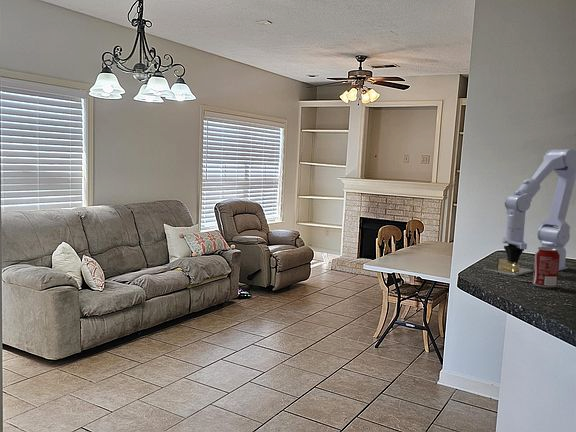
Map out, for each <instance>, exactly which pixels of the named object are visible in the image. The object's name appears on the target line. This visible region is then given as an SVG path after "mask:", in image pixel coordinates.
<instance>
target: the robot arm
mask: <svg viewBox="0 0 576 432" xmlns="http://www.w3.org/2000/svg"><path fill="white" fill-rule="evenodd" d="M542 158H543V161H542V163H541V164H540V165H539V167H538V169H537V170H536V171H535V173H534V174H533V175H532V177H531V178H527V179H524V180H523V181H522V184H521V185H520V186H519V187H518V189H517V190H515V192H514V194H510V195H509V196H508V197H507V198H506V200H505V201H504V207H505V209H506V214H507V218H506V219H507V220H506V235H505V237H502V244H507V245H504V246H503V248H504V251H505V253H506V256H507V260H508V261H511V262H513V263H514V262H516V263H518V262H519V260H520V257H521V255H522V253H523V252H524V250H527V248H528V244H527V243H526V242H525V241H524V239H525V238H524V236H525V226H526V225H525V224H526V223H525V222H526V211H528V210H529V209H530V207H531V203H532V199H533V198H534V197H535V196H536V194H537V193H538V192H539V191H540V190H541V183H543V181H545V179H546V178H547V177H548V176H549V175H550V174H551V173H552V172H554V173H556V174H557V176H558V179H557V183H556V188H555V191H554V194H553V199H552V203H551V207H550V211H549V214H548V217H547V218H546V219H544V220H543V221H541V225H540V227H538V230H537V233H536V234H537V235H536V236H537V239H538V240H539V243H540V244H541V246H540V247H548V248H555V249H558V253H559V255H560V259H559V270H558V272H559V271H563V270H566V269H568V266H566V259H567V258H566V256H567V251H566V248H565V247H566V245H567V244H568V242H569V240H570V236H571V233H570V230H571V226H570V225H569V223H567V221H566V217H567V213H568V209H569V206H570V201H571V197H572V195H573V194H572V193H573V189H574V185H575V181H576V149H573V148H569V149H555V148H554V149H549V150H547V152H546V153H545V154H544V155H543V157H542ZM518 264H519V263H518Z"/></svg>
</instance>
